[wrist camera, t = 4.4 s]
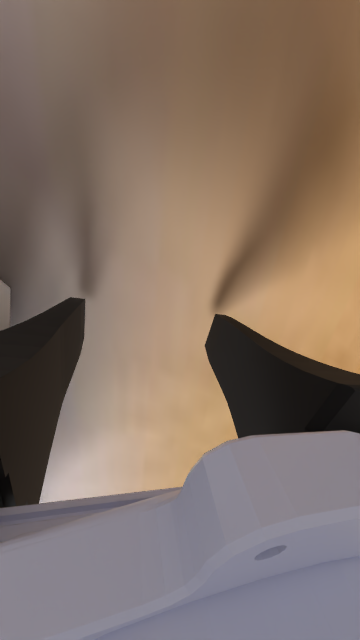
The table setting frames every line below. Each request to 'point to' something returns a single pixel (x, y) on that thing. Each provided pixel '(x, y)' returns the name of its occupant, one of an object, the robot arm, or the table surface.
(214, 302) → the table surface
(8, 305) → the die
